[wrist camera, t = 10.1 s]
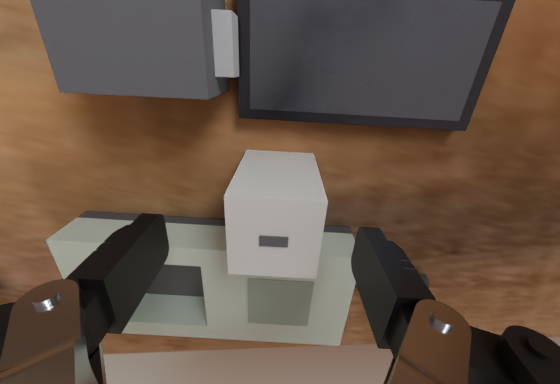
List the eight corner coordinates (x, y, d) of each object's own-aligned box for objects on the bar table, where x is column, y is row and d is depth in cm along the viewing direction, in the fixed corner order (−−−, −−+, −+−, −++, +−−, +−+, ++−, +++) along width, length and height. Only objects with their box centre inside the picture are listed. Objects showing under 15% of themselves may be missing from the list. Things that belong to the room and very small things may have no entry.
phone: (498, -5, 12) (521, -13, 11) (452, 126, 14) (466, 131, 13) (238, -20, 12) (233, -30, 11) (240, 113, 14) (236, 118, 13)
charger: (313, 153, 15) (328, 202, 10) (307, 211, 17) (316, 279, 11) (246, 149, 15) (223, 196, 10) (247, 207, 17) (228, 274, 11)
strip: (437, 231, 17) (474, 272, 14) (405, 311, 21) (428, 359, 17) (86, 211, 17) (36, 247, 14) (114, 294, 21) (80, 339, 17)
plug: (242, 1, 12) (222, -28, 8) (243, 91, 14) (228, 100, 10) (98, -6, 12) (17, -37, 8) (119, 85, 14) (59, 92, 10)
